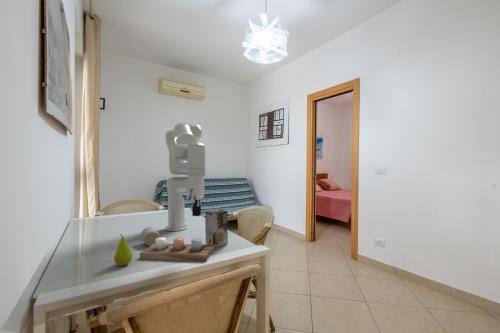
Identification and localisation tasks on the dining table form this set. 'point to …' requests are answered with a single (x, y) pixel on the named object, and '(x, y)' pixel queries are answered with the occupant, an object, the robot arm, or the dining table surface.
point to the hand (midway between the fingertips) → (196, 215)
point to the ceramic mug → (149, 236)
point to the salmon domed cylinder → (178, 243)
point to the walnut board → (177, 253)
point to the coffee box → (216, 228)
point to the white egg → (160, 243)
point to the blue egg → (196, 244)
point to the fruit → (122, 253)
